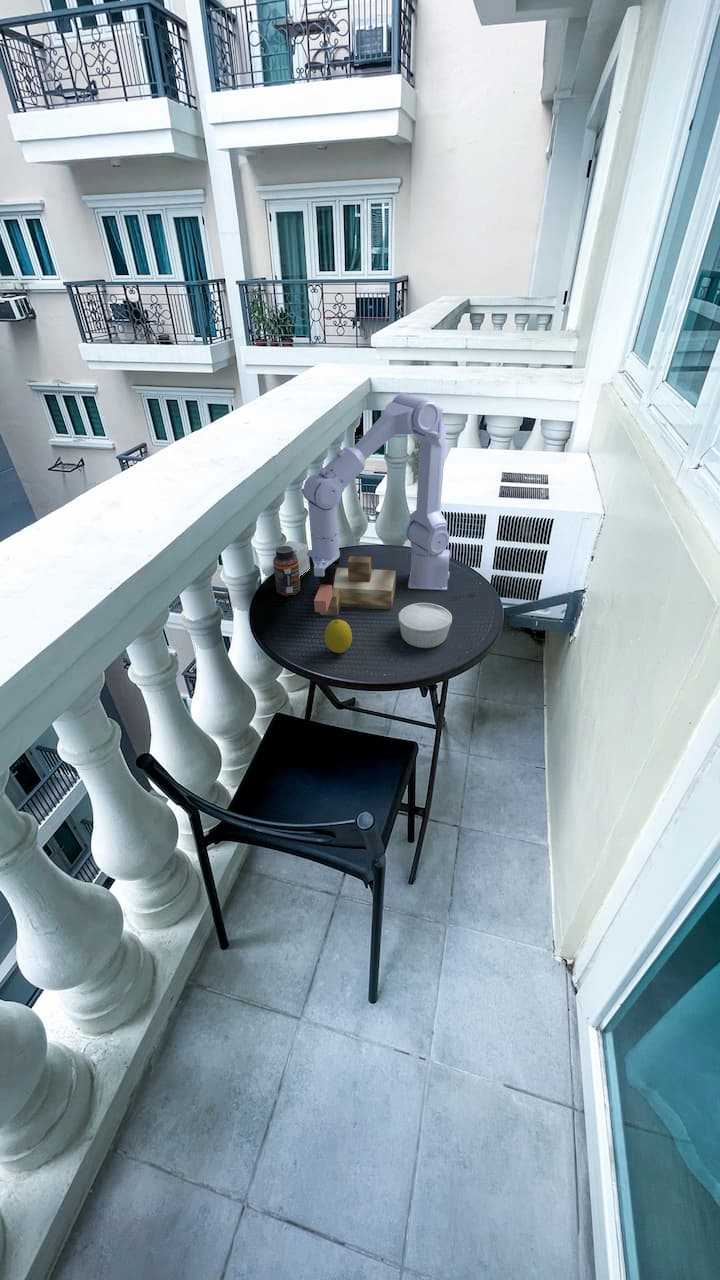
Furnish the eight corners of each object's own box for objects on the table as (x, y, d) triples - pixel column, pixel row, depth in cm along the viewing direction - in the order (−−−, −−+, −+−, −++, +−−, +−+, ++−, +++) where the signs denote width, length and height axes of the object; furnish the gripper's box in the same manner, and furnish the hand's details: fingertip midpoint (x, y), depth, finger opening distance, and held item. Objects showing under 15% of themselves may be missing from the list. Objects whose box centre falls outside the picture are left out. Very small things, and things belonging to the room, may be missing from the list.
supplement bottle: (296, 598, 131) (292, 555, 125) (273, 596, 132) (267, 553, 126) (303, 586, 136) (300, 544, 129) (281, 584, 137) (276, 543, 130)
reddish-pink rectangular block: (332, 596, 121) (332, 584, 119) (326, 612, 115) (325, 601, 114) (321, 595, 121) (320, 584, 120) (314, 611, 116) (314, 600, 114)
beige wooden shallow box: (395, 588, 134) (395, 570, 131) (389, 618, 122) (389, 599, 119) (331, 585, 136) (330, 567, 133) (320, 614, 124) (318, 595, 122)
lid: (395, 574, 131) (396, 551, 128) (391, 594, 123) (391, 571, 120) (330, 571, 134) (329, 548, 130) (322, 591, 125) (320, 567, 122)
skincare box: (290, 565, 146) (288, 540, 141) (310, 569, 143) (308, 543, 139) (278, 575, 141) (275, 549, 137) (299, 579, 139) (296, 553, 135)
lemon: (349, 661, 110) (348, 628, 105) (323, 659, 110) (320, 626, 106) (355, 646, 114) (353, 613, 109) (329, 643, 115) (327, 611, 110)
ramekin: (452, 625, 120) (454, 604, 117) (448, 654, 111) (450, 633, 108) (401, 620, 122) (402, 600, 119) (394, 648, 113) (394, 627, 110)
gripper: (313, 519, 120) (317, 574, 128) (297, 547, 109) (303, 605, 116) (344, 520, 119) (346, 575, 127) (332, 548, 108) (335, 607, 115)
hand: (328, 590), depth 122 cm, fingers closed
